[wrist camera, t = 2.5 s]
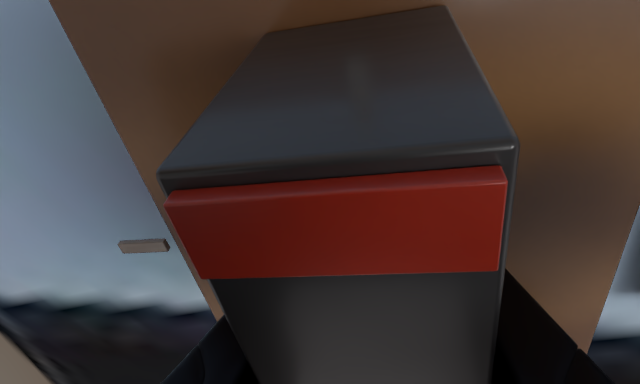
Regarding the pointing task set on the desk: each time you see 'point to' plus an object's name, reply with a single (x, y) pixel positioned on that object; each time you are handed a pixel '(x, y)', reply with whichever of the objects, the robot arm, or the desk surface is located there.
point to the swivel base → (499, 69)
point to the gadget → (353, 203)
